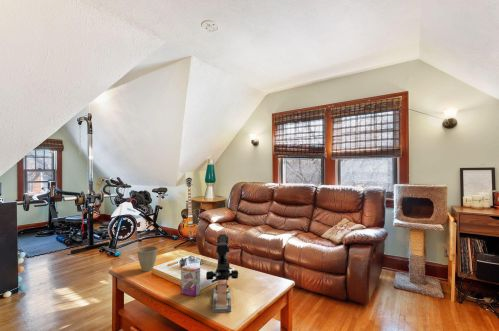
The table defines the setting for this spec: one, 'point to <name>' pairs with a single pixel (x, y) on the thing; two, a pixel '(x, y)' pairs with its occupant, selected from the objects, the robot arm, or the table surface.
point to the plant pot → (147, 257)
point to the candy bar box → (190, 280)
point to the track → (222, 309)
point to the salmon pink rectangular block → (222, 294)
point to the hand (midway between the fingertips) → (222, 289)
